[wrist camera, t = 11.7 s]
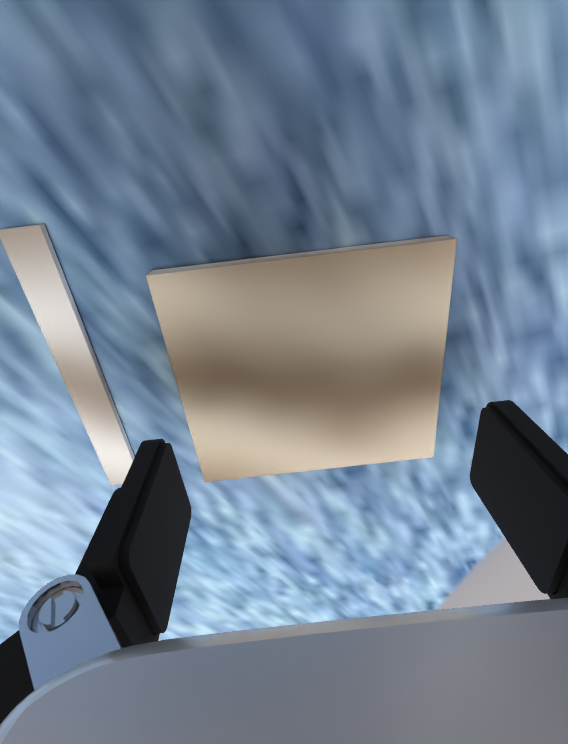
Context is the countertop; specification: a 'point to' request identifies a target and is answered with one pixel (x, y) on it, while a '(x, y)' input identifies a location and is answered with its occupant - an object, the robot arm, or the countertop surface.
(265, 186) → the countertop surface
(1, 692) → the robot arm
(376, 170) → the countertop surface
